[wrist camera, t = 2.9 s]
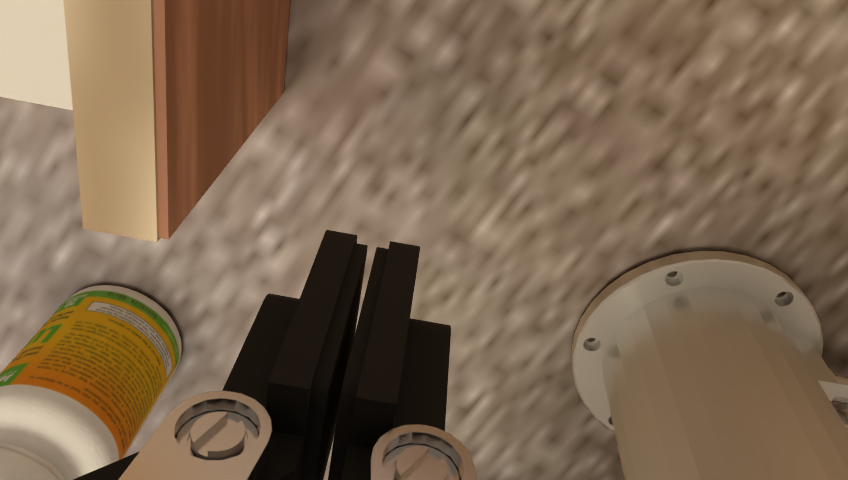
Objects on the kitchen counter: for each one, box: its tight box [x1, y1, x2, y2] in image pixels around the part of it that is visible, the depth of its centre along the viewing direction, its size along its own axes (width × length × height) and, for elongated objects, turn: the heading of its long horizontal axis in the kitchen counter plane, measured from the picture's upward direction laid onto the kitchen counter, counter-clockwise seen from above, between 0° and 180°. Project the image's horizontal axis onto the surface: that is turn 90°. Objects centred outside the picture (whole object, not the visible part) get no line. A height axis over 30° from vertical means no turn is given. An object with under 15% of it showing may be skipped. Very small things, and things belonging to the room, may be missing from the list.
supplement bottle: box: [0, 285, 182, 480], centre depth 35 cm, size 7×7×13 cm
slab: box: [63, 0, 290, 242], centre depth 25 cm, size 2×8×14 cm, turn 170°
